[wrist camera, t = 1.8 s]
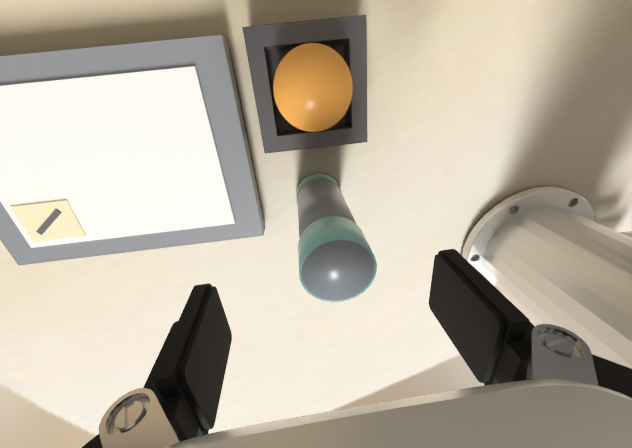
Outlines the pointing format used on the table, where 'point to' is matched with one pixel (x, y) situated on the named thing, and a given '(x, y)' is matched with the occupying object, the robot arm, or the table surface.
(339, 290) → the marker
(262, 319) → the table surface
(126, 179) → the drawing board
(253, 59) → the button housing
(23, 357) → the table surface
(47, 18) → the table surface
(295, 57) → the button
